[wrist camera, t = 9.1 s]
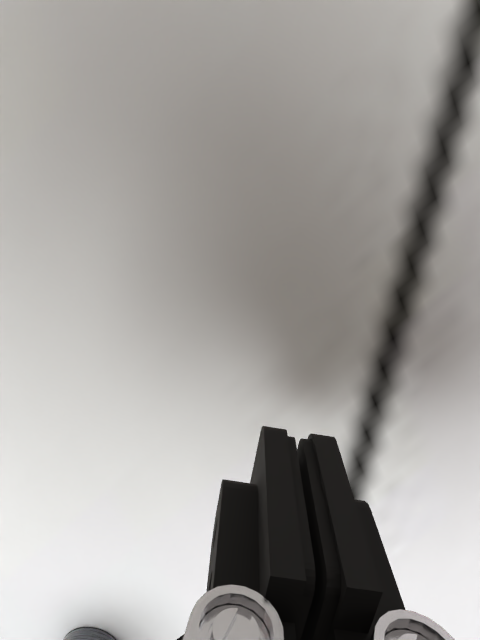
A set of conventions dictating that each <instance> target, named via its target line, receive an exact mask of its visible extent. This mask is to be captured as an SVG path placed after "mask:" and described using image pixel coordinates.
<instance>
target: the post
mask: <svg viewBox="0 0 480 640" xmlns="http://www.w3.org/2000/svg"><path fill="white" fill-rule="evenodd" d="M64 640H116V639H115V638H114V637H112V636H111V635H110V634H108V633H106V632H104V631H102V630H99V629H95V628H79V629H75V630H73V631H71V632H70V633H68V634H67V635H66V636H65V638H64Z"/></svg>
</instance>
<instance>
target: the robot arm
mask: <svg viewBox="0 0 480 640" xmlns="http://www.w3.org/2000/svg"><path fill="white" fill-rule="evenodd" d="M177 640H455V639H454V638H453V637H452V636H451V635H450V634H449V633H448V632H447V631H446V630H445V629H443V628H442V627H441V626H440V625H438V624H437V623H435V622H434V621H432V620H431V619H430V618H428V617H426V616H424V615H421V614H419V613H416V612H414V611H408V610H405V607H404V604H403V601H402V599H401V596H400V593H399V590H398V587H397V584H396V581H395V578H394V575H393V573H392V570H391V567H390V564H389V561H388V558H387V555H386V552H385V549H384V547H383V544H382V541H381V538H380V535H379V532H378V529H377V526H376V523H375V521H374V518H373V515H372V512H371V509H370V507H369V505H368V503H366V502H365V501H360V500H354V497H353V493H352V490H351V487H350V484H349V480H348V477H347V474H346V471H345V467H344V464H343V461H342V458H341V454H340V451H339V448H338V445H337V441H336V439H335V438H334V437H330V436H323V435H317V434H310V435H309V437H308V439H302V438H301V439H300V441H299V445H298V449H297V448H296V442H295V438H294V437H289V436H287V431H286V430H285V429H279V428H272V427H266V426H263V427H262V429H261V433H260V438H259V443H258V447H257V452H256V457H255V462H254V467H253V472H252V477H251V481H250V484H249V483H243V482H236V481H230V480H222V484H221V489H220V494H219V500H218V505H217V511H216V517H215V524H214V531H213V538H212V546H211V555H210V565H209V574H208V583H207V592H206V593H205V594H204V595H203V596H202V597H201V598H200V599H199V600H198V601H197V602H196V604H195V606H194V608H193V610H192V612H191V614H190V617H189V621H188V624H187V627H186V631H185V634H184V635H182V636H181V637H180V638H178V639H177Z"/></svg>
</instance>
